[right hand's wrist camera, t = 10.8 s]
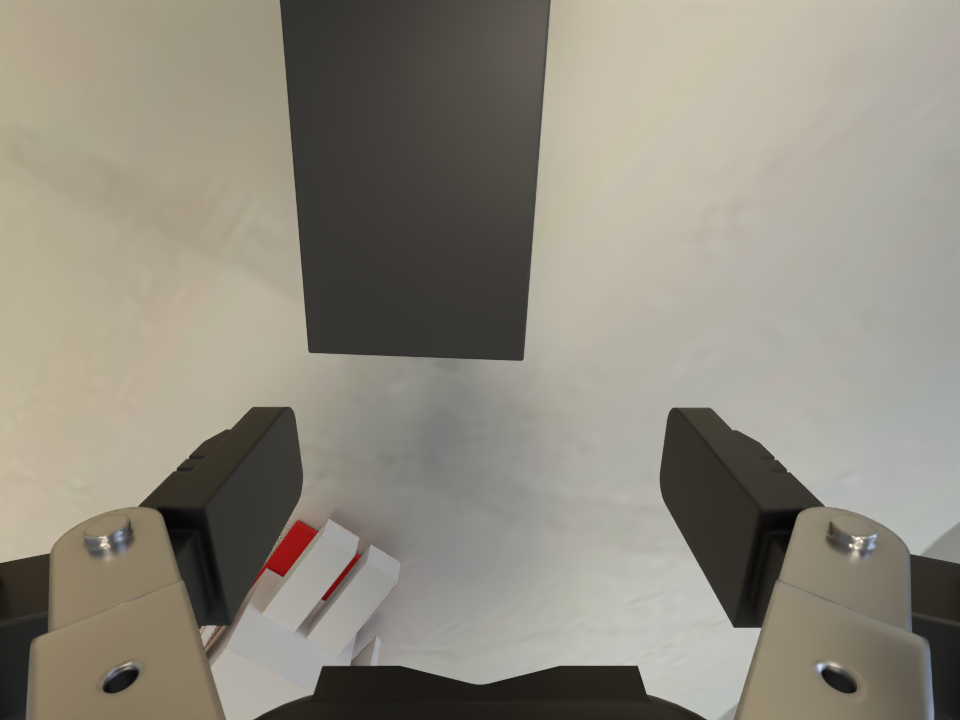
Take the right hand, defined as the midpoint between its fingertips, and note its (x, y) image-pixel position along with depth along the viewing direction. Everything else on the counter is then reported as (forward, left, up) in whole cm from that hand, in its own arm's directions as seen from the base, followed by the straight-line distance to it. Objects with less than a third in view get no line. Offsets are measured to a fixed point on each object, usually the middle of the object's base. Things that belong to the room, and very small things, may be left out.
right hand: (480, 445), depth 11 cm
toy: (+26, -25, -24) cm, 44 cm away
